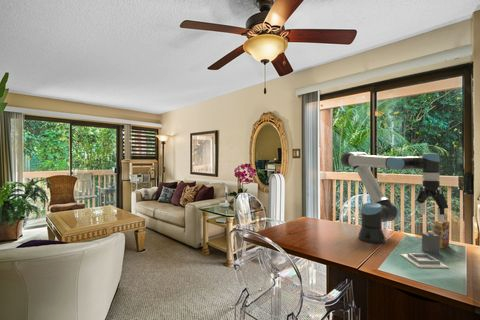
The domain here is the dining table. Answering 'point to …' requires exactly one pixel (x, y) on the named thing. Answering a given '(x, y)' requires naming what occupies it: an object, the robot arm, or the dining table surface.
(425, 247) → the block
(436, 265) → the end holder
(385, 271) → the dining table surface
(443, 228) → the candy box
